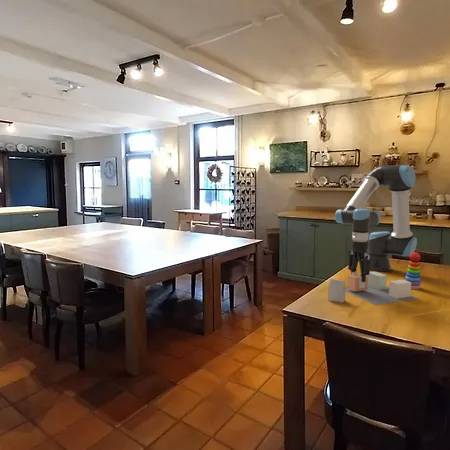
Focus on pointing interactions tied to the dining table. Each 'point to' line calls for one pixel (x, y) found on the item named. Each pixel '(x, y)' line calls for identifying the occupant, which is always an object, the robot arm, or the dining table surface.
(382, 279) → the sage brick
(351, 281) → the terracotta brick
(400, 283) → the cream brick
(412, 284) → the stacking toy
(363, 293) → the charcoal mat
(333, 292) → the ivan-chai tea box
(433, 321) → the dining table surface
